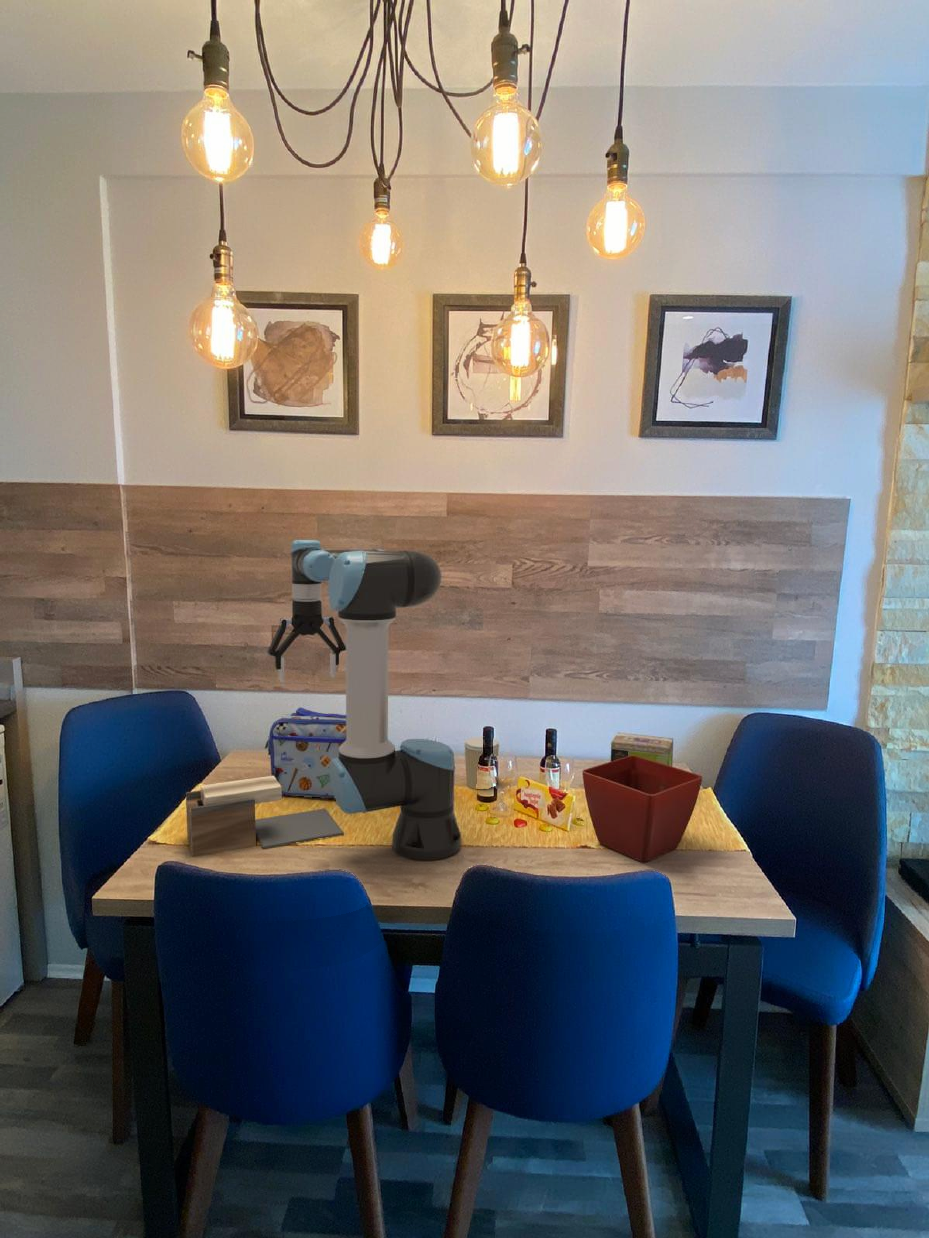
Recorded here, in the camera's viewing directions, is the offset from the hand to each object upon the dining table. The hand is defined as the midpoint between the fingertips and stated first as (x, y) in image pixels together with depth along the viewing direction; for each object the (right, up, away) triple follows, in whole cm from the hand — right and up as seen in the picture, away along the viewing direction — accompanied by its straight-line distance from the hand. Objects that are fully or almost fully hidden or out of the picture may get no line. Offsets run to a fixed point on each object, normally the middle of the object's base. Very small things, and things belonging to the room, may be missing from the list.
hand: (307, 679), depth 200 cm
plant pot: (+80, -35, -31) cm, 93 cm away
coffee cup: (+46, -29, +4) cm, 54 cm away
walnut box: (-12, -33, -34) cm, 49 cm away
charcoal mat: (+3, -32, -26) cm, 42 cm away
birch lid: (-8, -24, -33) cm, 41 cm away
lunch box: (+4, -29, -5) cm, 30 cm away
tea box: (+88, -30, 0) cm, 93 cm away
